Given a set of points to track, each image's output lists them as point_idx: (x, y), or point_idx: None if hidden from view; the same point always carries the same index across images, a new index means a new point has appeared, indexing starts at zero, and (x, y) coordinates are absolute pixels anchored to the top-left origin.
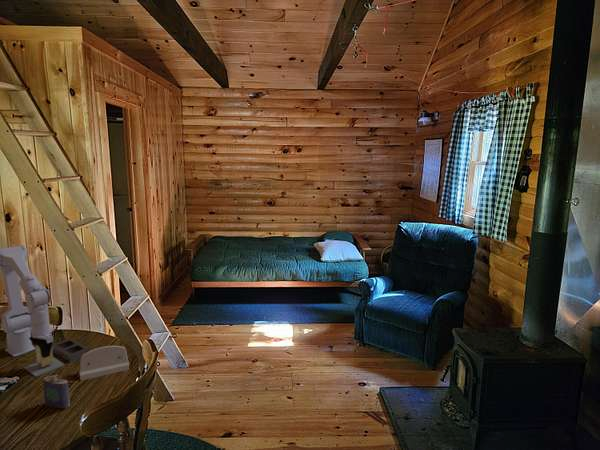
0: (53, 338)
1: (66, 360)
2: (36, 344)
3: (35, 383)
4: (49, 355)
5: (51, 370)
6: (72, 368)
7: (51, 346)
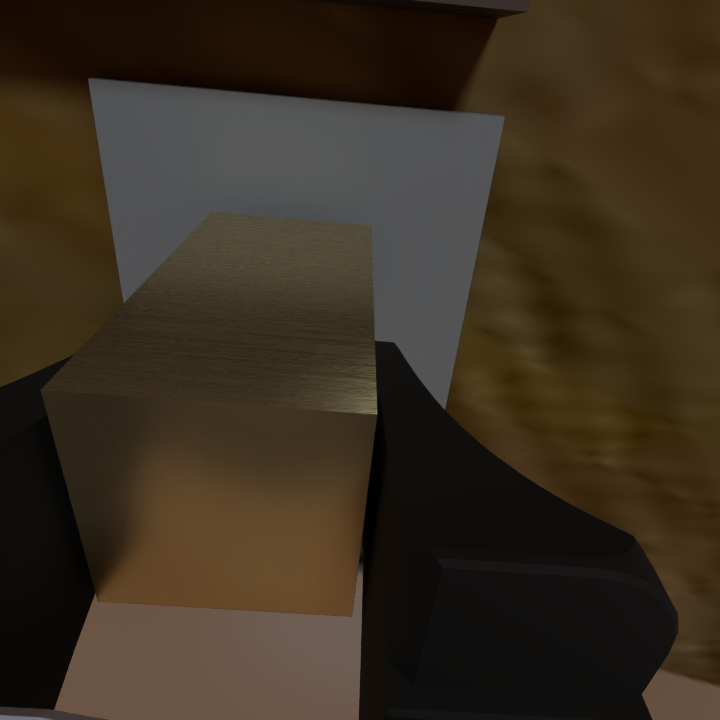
0: (595, 604)
1: (378, 5)
2: (123, 593)
3: (546, 477)
4: (397, 349)
5: (467, 294)
6: (688, 105)
7: (474, 441)
